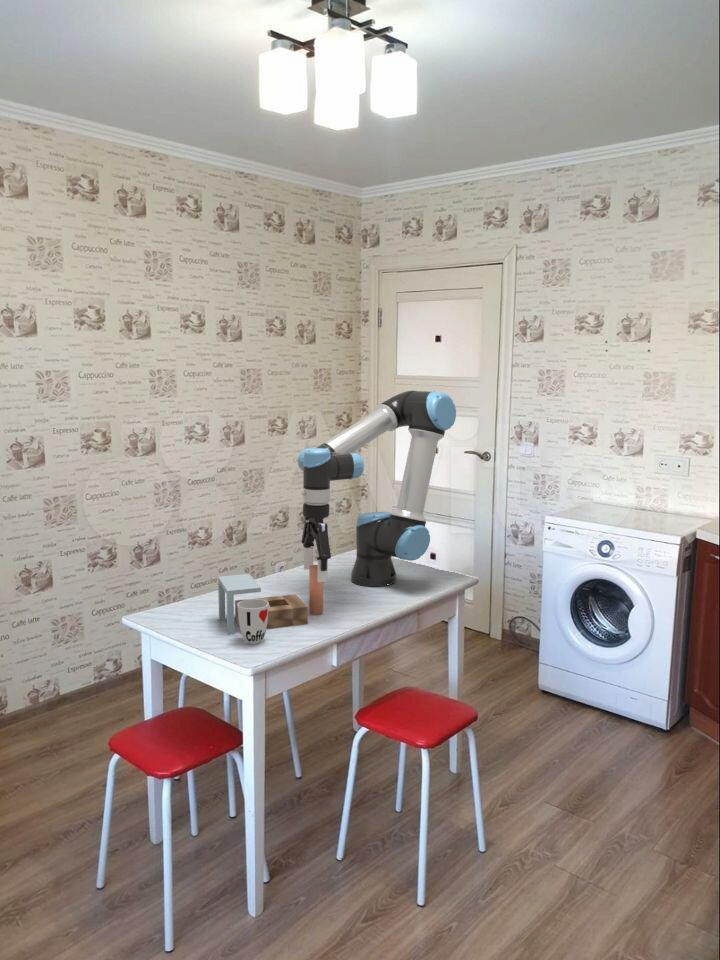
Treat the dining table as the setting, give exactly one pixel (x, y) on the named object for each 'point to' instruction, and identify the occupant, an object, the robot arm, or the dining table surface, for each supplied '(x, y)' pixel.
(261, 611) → the cup
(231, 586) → the grey-blue stool
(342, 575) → the dining table surface
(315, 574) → the dowel
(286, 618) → the socket block
